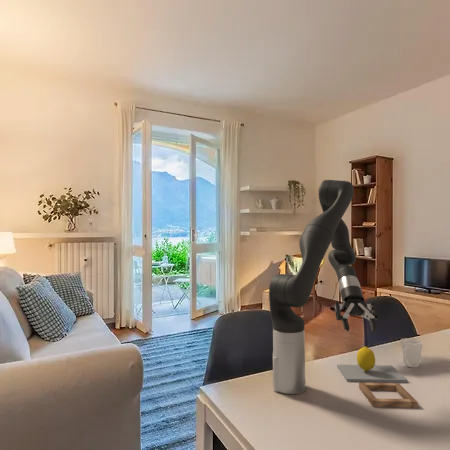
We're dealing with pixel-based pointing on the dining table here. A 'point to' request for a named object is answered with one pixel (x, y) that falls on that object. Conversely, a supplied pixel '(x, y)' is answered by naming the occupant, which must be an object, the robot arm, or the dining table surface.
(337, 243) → the robot arm
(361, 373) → the mat
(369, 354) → the lemon
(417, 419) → the dining table surface
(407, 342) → the cup
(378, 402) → the square seat
